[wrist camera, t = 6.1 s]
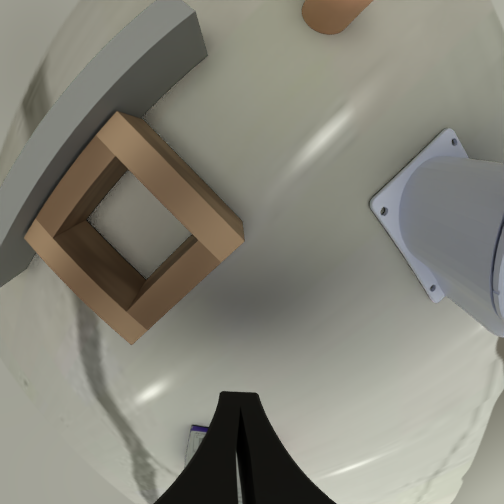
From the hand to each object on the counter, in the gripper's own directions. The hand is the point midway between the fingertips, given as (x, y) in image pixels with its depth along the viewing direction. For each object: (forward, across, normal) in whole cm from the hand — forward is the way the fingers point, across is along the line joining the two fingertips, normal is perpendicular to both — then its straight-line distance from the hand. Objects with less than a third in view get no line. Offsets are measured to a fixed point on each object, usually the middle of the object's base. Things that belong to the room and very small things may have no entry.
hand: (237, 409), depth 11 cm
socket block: (+8, +6, -5) cm, 11 cm away
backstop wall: (+9, +9, -8) cm, 15 cm away
